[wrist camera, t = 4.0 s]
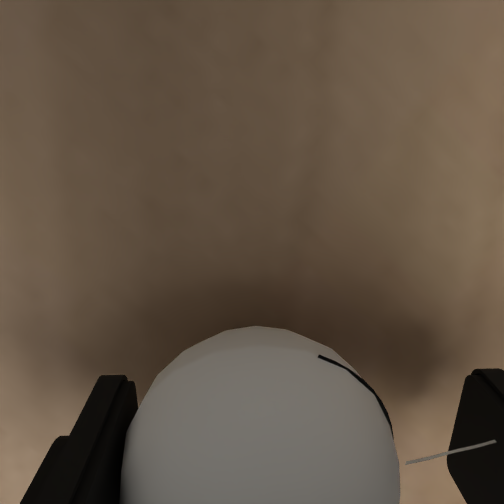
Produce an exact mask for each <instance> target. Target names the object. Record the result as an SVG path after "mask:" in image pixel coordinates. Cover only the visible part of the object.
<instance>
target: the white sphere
mask: <svg viewBox="0 0 504 504" xmlns="http://www.w3.org/2000/svg"><path fill="white" fill-rule="evenodd" d="M495 442H496V441H495V440H492V441H488V442H485V443H481V444H477V445H473V446H469V447H464V448H460V449H455V450H451V451H447V452H444V453H440V454H437V455H433V456H429V457H425V458H421V459H416V460H411V461H406V464H405V465H407V464H412V463H417V462H421V461H426V460H430V459H434V458H437V457H441V456H444V455H448V454H452V453H456V452H460V451H465V450H469V449H474V448H478V447H482V446H485V445H489V444H492V443H495ZM399 501H400V473H399V461H398V457H397V453H396V449H395V445H394V441H393V431H392V425H391V422H390V419H389V416H388V412H387V411H386V409H385V407H384V405H383V403H382V401H381V399H380V398H379V397H378V395H377V394H376V393H375V391H374V390H373V389H372V388H371V387H370V386H369V385H368V384H367V383H366V382H365V381H364V380H363V379H362V378H361V376H360V375H359V374H358V372H357V371H356V370H355V369H354V368H353V367H352V366H350V365H349V364H348V363H347V362H346V361H345V360H344V359H343V358H342V357H340V356H339V355H338V354H337V353H336V352H335V351H334V350H333V349H332V348H329V347H327V346H325V345H323V344H320V343H318V342H316V341H313V340H311V339H309V338H306V337H304V336H302V335H299V334H297V333H295V332H292V331H289V330H287V329H280V328H271V327H263V326H251V327H244V328H238V329H231V330H225V331H223V332H221V333H219V334H217V335H215V336H212V337H210V338H208V339H206V340H204V341H202V342H199V343H197V344H196V345H194V346H192V347H190V348H188V349H186V350H184V351H183V352H182V353H181V354H179V355H178V356H177V357H176V358H175V359H174V360H173V361H172V362H171V363H170V364H169V365H167V366H166V367H165V368H164V369H163V370H162V371H161V372H160V373H159V374H158V375H157V376H156V378H155V380H154V381H153V383H152V385H151V387H150V388H149V390H148V392H147V394H146V395H145V397H144V399H143V401H142V402H141V404H140V406H139V408H138V410H137V412H136V414H135V416H134V418H133V420H132V422H131V424H130V426H129V428H128V430H127V432H126V438H125V446H124V454H123V461H122V469H121V484H120V501H119V504H399Z"/></svg>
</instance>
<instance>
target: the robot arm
mask: <svg viewBox="0 0 504 504" xmlns="http://www.w3.org/2000/svg"><path fill="white" fill-rule="evenodd" d="M137 410H138V403H137V395H136V388H135V383H134V381H128V380H127V377H126V376H125V375H102V376H100V377H99V379H98V380H97V382H96V384H95V386H94V388H93V390H92V392H91V394H90V396H89V398H88V400H87V402H86V404H85V406H84V408H83V410H82V412H81V414H80V416H79V418H78V420H77V422H76V424H75V426H74V427H73V429H72V431H71V433H70V435H69V436H59V437H58V438H57V439H56V440H55V441H54V443H53V444H52V445H51V447H50V449H49V451H48V453H47V455H46V456H45V458H44V460H43V462H42V464H41V466H40V467H39V469H38V471H37V473H36V475H35V477H34V479H33V480H32V482H31V484H30V486H29V488H28V490H27V491H26V493H25V495H24V497H23V499H22V501H21V502H20V504H119V501H120V484H121V469H122V461H123V454H124V446H125V438H126V432H127V430H128V428H129V426H130V424H131V422H132V420H133V418H134V416H135V414H136V412H137ZM492 440H495V441H496V442H495V443H492V444H489V445H485V446H482V447H478V448H474V449H469V450H465V451H460V452H456V453H452V454H448V455H447V466H448V469H449V472H450V474H451V476H452V478H453V480H454V481H455V483H456V485H457V487H458V489H459V490H460V492H461V494H462V496H463V497H464V499H465V501H466V503H467V504H504V371H503V370H502V369H499V368H498V369H475V370H473V372H472V373H471V375H468V376H467V377H466V378H465V382H464V386H463V390H462V394H461V399H460V403H459V407H458V412H457V416H456V420H455V424H454V429H453V433H452V437H451V442H450V446H449V450H448V451H451V450H455V449H460V448H464V447H469V446H473V445H477V444H481V443H485V442H488V441H492Z"/></svg>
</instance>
